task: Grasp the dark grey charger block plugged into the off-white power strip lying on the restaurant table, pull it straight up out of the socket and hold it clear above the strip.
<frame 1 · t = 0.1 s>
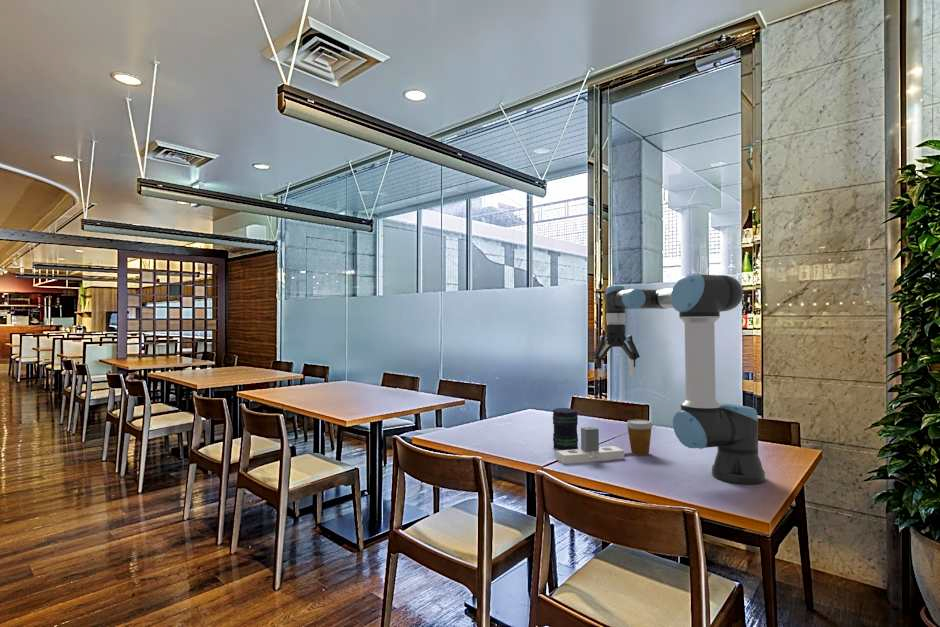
hand: (616, 376, 209), 28 cm above the table, fingers open, 13 cm apart
charger: (589, 440, 189), point 7 cm above the table, slide at 0.0 cm
storage jar: (565, 448, 206), on the table
power strip: (590, 458, 188), on the table
disposable coffee cup: (640, 453, 196), on the table
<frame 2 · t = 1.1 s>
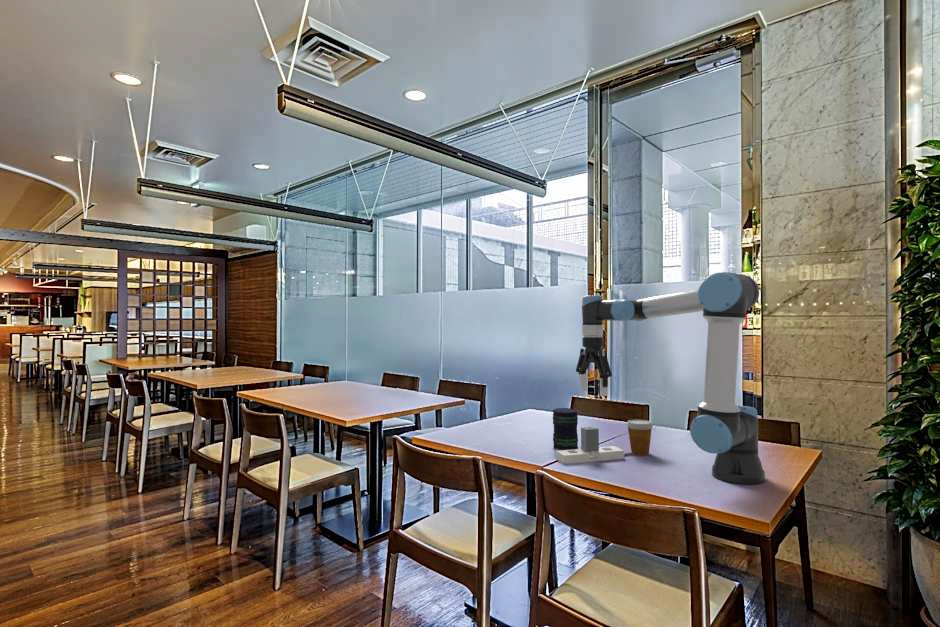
hand: (593, 393, 192), 23 cm above the table, fingers open, 13 cm apart
nothing on the table moved.
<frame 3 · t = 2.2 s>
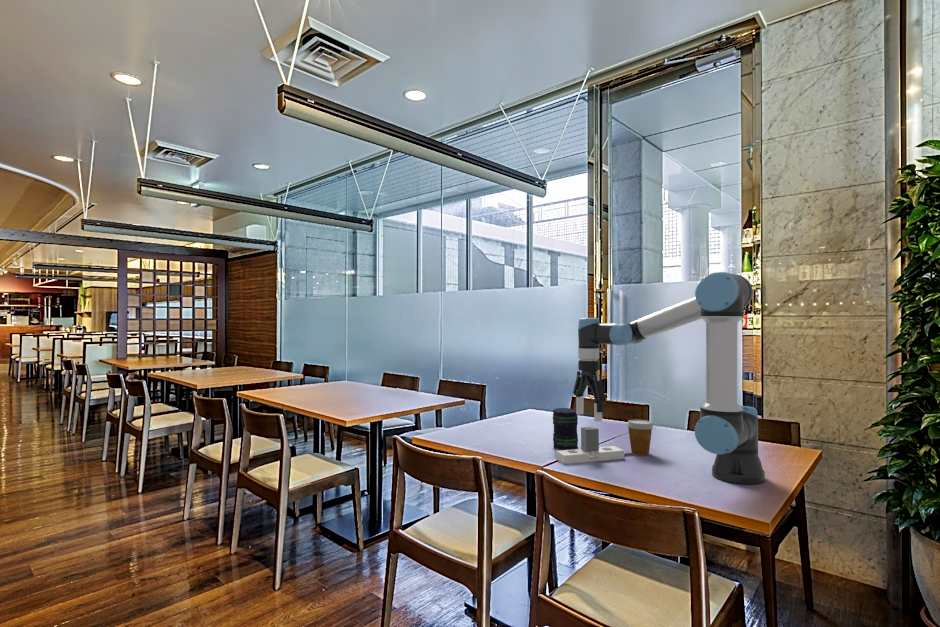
hand: (588, 417, 189), 15 cm above the table, fingers open, 13 cm apart
nothing on the table moved.
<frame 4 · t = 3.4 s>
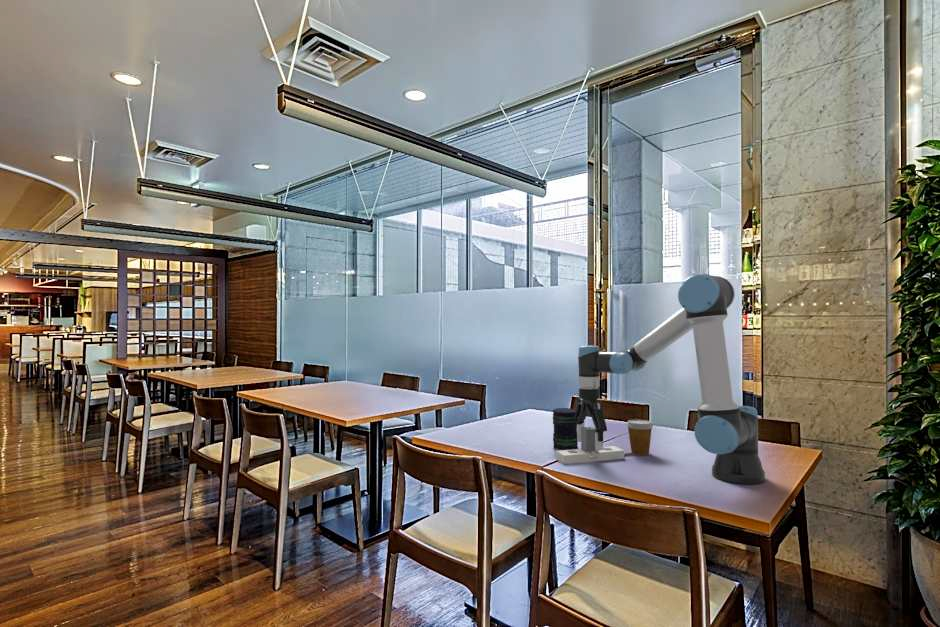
hand: (589, 445, 189), 5 cm above the table, fingers open, 13 cm apart
nothing on the table moved.
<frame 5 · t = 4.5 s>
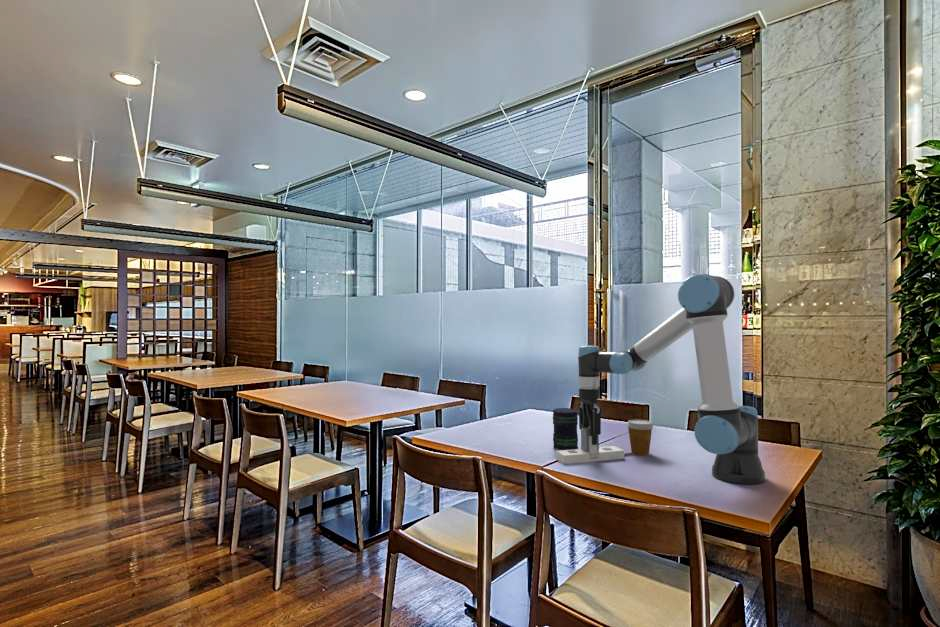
hand: (590, 451, 189), 3 cm above the table, fingers closed on charger, 4 cm apart
charger: (589, 440, 189), point 7 cm above the table, slide at 0.0 cm, touching gripper
everything else where it was.
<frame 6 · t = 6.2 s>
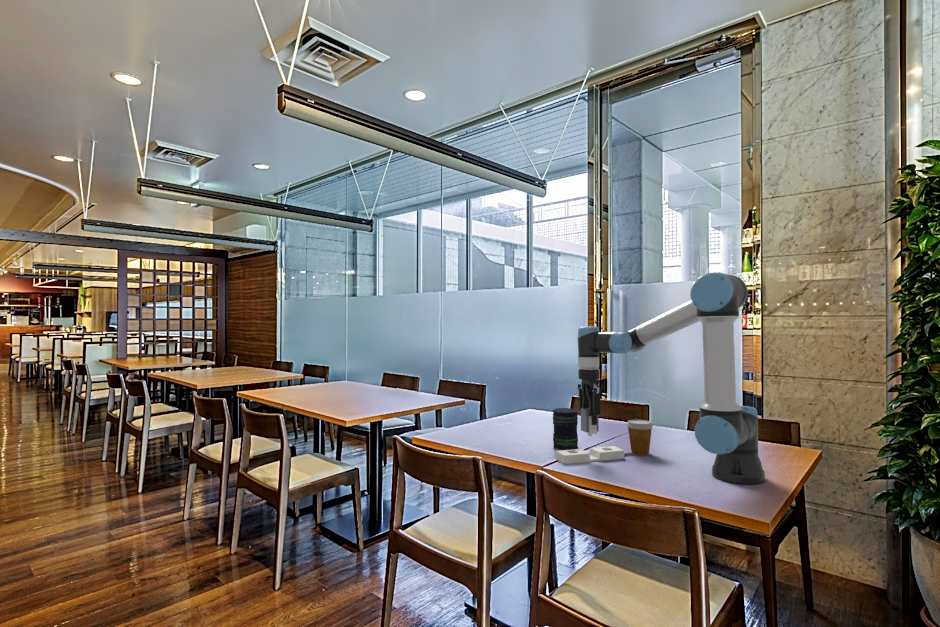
hand: (589, 432, 189), 10 cm above the table, fingers closed on charger, 4 cm apart
charger: (589, 421, 189), point 14 cm above the table, slide at 7.1 cm, touching gripper
everything else where it was.
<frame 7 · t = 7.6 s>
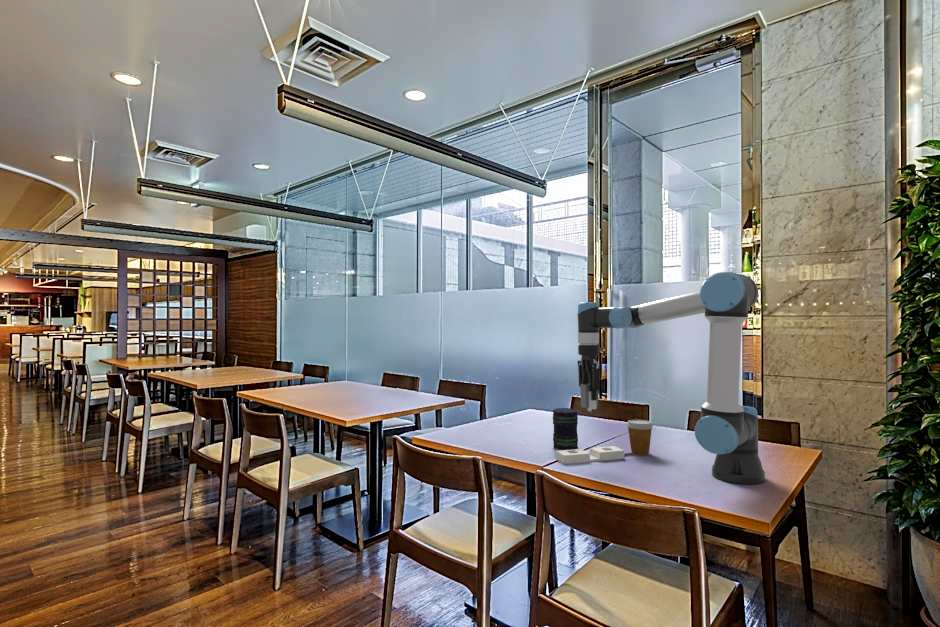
hand: (589, 407, 189), 19 cm above the table, fingers closed on charger, 4 cm apart
charger: (589, 397, 189), point 23 cm above the table, slide at 15.9 cm, touching gripper
everything else where it was.
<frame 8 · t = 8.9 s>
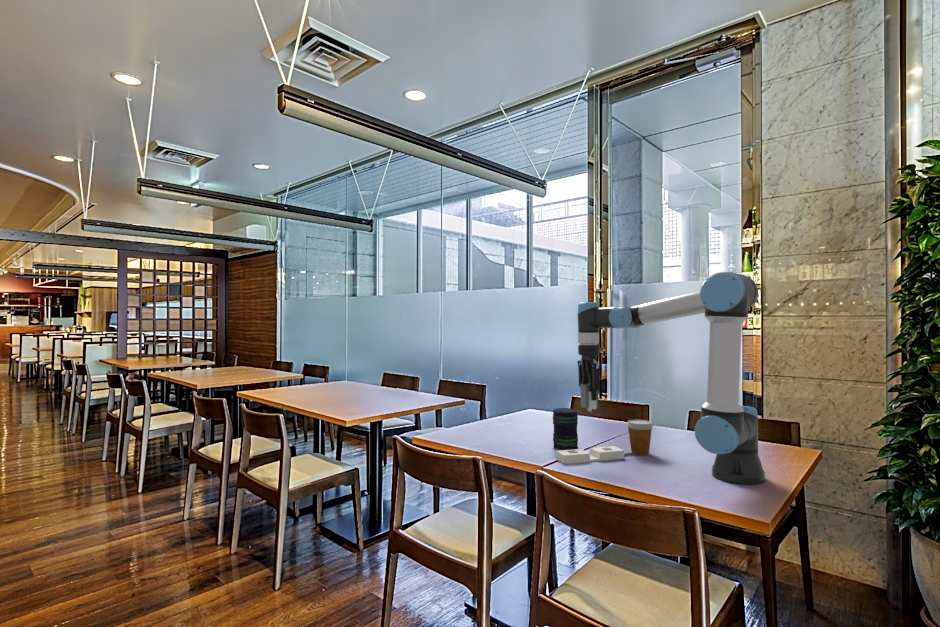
hand: (589, 407, 189), 19 cm above the table, fingers closed on charger, 4 cm apart
charger: (589, 397, 189), point 23 cm above the table, slide at 15.9 cm, touching gripper
everything else where it was.
at the end: charger slide at 15.9 cm; the gripper is holding charger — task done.
